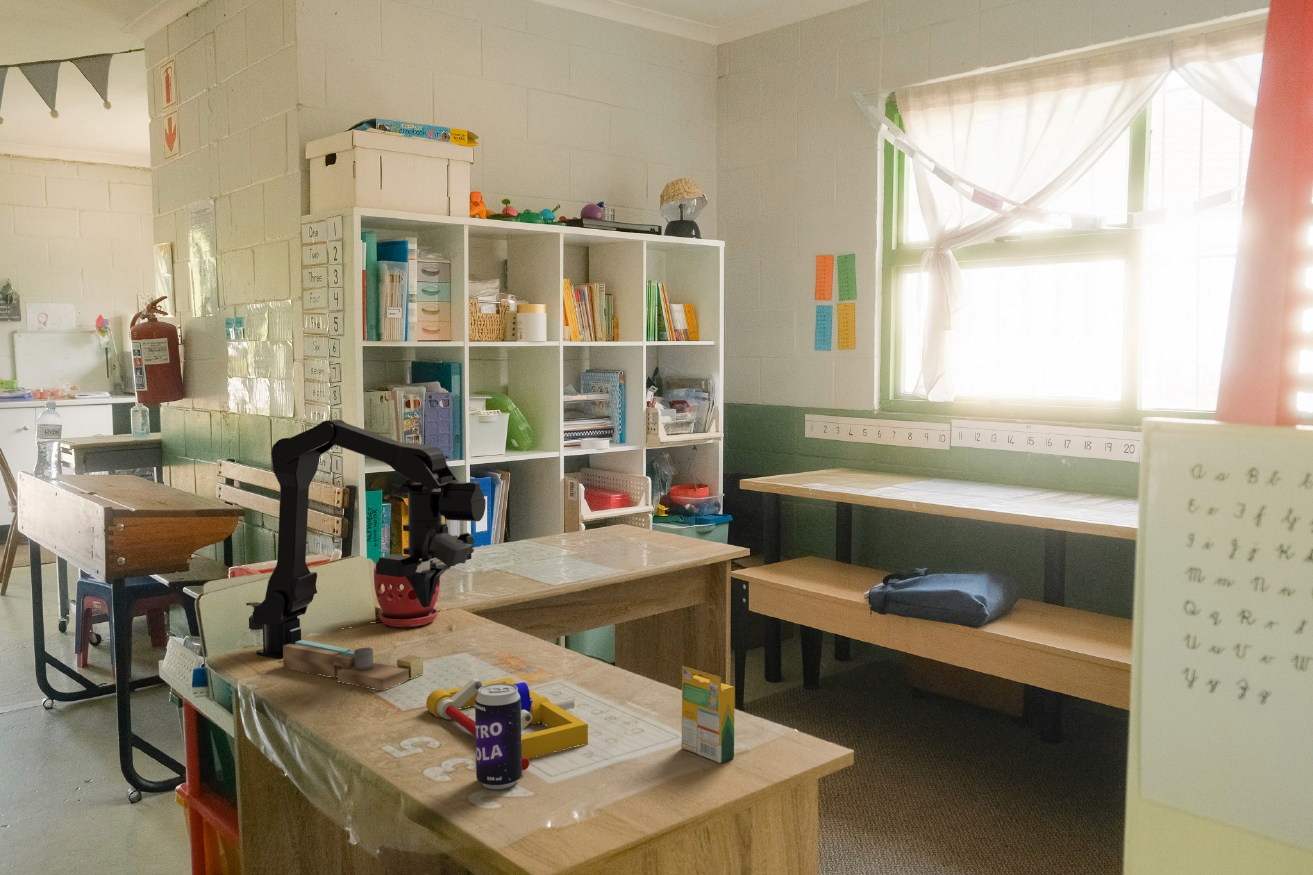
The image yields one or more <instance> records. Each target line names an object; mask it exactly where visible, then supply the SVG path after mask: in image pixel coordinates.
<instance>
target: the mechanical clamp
mask: <svg viewBox="0 0 1313 875" xmlns="http://www.w3.org/2000/svg"><path fill="white" fill-rule="evenodd" d="M493 683H509V684H513V685H515V686H517V688H518V690H517V691H518V693H519V695H520V697H521V732H522V731H523V730H524V729H525V728H526V727H527V726H528V725H531V724H533V725H536V724H535V723H537V724H539V723H538V722H543V723H544V724H546V725H547V726H548V727H547V726H546V727H547V728H546V729H542V730H538V731H534V732H529V733H525V734H521V740H522V771H526V770H528V768H529V767H530V759H529V758H532V759H535V758H537V757H536V756H539V757H542V756H541V755H543V754H547V755H549V754H548V753H551V754H554V753H553V752H554V751H559V752H561V751H560V750H563V749H567V748H569V747H574V746H577V745H582V744H586V745H588V743H589V732H588V731H589V729H588V728H589V727H588V725H589V723H587V722H585V721H584V720H582V719H580V718H578V717H577V716H575V715H573V714H572V713H570V712H569V711H567V710H570V709H574V708H575V701H574V699H573V698H572V697H569V698H566V699H562V700H561V699H560V700H556V701H550V700H549V699H548V697H547V696H541V695H539V694H537V693H536V692H534V691H533V690H531V689H529V686H528V684H527V683H526V682H524V681H523V682H517V681H516V680H514V679H512V678H510V677H506V678H501V679H495V680H491V681H485V682H481V681H480V680H478V679H477V678H472V679H470V680H469V681H467V683H466V684H465V685H463V686H461V687H455V688H451V689H446V690H444V689H441V688H439V689H435V690H433V691H431V693H430V694H429V695H428V697H427V698H426V704H425V705H426V709H427V711H428V712H430V713H431V714H432V715H433V714H434V717H436V718H437V717H439V718H444V719H445V720H447V719H450V720H453V721H454V722H456V723H457V724H459V725H460V726H461V727H462V728H463V729H465V730H467V731H468V732H470V733H471V734H472V735H474V736H475V737H476V728H475V720H474V719H472V718H471V717H469V716H468V715H466V714H465V713H463V712H462V711H461V710H460V709H459V708H464V709H466V708H465V707H468V706H473V705H475V699H476V697H477V695H478V689H479V688H480V687H482V686H484V685H488V684H493ZM473 707H474V706H473ZM530 723H531V724H530ZM544 724H543V725H544ZM549 727H550V728H549ZM567 750H568V749H567ZM563 751H564V750H563ZM543 756H544V755H543ZM534 757H535V758H534Z"/></svg>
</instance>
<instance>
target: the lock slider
mask: <svg viewBox="0 0 1313 875" xmlns="http://www.w3.org/2000/svg"><path fill="white" fill-rule="evenodd" d="M396 667H400V668H406V669H409V678H410V679H411V678H414V679H416V678H415V677H416V676H419V675H421V674H423V675H424V658H423V657H421V656H416V655H412V654H411V655H410V654H409V655H406V656H403V657H401V658H398V659H397V660H396ZM419 677H420V676H419Z"/></svg>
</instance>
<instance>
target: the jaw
mask: <svg viewBox="0 0 1313 875" xmlns="http://www.w3.org/2000/svg"><path fill="white" fill-rule="evenodd" d="M295 645H300V646H306V647H311V648H317V649H323V650H328V651H334V652H339V653H341V655H345V656H350V657H354V651H355V650H352V649H350V648H345V647H341V646H336V645H330V644H326V643H320V642H315V641H309V640H306V639H305V640H304V639H301V640H300V641H297V642H295ZM343 668H345V667H341V669H343Z"/></svg>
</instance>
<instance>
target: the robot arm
mask: <svg viewBox="0 0 1313 875" xmlns="http://www.w3.org/2000/svg"><path fill="white" fill-rule="evenodd" d="M335 446H337V447H340V448H343V449H345V450H347V451H348V450H349V451H351V452H354V453H356V454H359V455H362V456H366V457H369V458H371V459H372V460H373V459H374V460H376V461H379V462H381V463H384V464H386V465H387V466H390V468H392V469H393V471H394V472H396V473H397V474H399V475H400V476H402V477H404V478H406V479H404V480H403V483H401V485H399V486H398V487H397V488H396V489H395V492H396V493H397V494H407V517H408V518H407V524H403V525H402V531H403V532H407V534H408V537H407V538H408V547H403V552H402V553H403V554H395V553H392V554H389V555H384V556H380V557H378V559H377V560H376V562H375V567H376V574H380V575H387V576H394V577H405V576H406V578H407V579H408V581H409V583H410V584H411V586H412V588H413V590H414V592H415V594H416V596H417V598H418V600H419V601H420V603H421V605H422V607H429V606H430V604H431V601H432V598H433V595H434V591H435V588H436V585H437V583H438V580H439V578H440V579H441V576H443V574H444V573H446V572H447V570H450V569H451V567H454V566H456V565H460V564H466V562H467V561H468V560H472V554H473V553H474V552H475V549H474V547H475V540H474V535H473V534H471V533H469V532H464V533H461V534H459V535H457V534H456V535H451V534H450V533H449V526H448V524H447V523H443V522H442V521H443V518H444V519H445V520H446V521H457V522H458V521H459V522H460V521H461V522H462V521H463V522H480V521H481V520H482V519H483V517H484V515H485V511H486V498H485V495H484V492H483V490H482V489H481V483H480V482H479V481H469V482H466V481H463V482H462V481H459V479H458V477H456V475H455V473H454V472H453V471H452V469H451V467H450V466H449V465H448V463H447V460H446V455H445V454H444V451H443V450H442V449H441V448H440V447H437V446H434V445H429V444H421V443H413V442H412V443H410V442H402V441H398V440H396V439H395V440H394V439H392V438H389V437H386V436H383V435H382V434H381V435H380V434H378V433H375V432H373V431H369V430H367V429H364V428H361V427H357V426H355V425H352V424H350V423H347V422H345V421H344V420H341V419H338V418H336V419H329V420H328V419H327V420H324V421H321V422H320V423H319V424H317V425H314V426H313V427H311V428H309V429H306V430H305V431H302V432H300V433H297V434H296V435H294V436H291V437H284V438H280V439H278V440H277V441H276V442H275V443H274V444H272V447H271V449H270V450H271V451H270V452H271V453H270V456H271V464H272V472H273V474H274V477H275V478H276V479H277V480H276V481H277V482H278V484H279V507H278V508H279V511H278V532H277V554H276V555H277V556H276V558H277V560H276V565H275V567H274V568H273V571H272V573H271V575H270V577H269V579H268V581H267V587H266V591H265V595H264V596H265V597H264V600H263V601H261V603H260V604H259V605H258V606H257V607H256V608H255V609H254V610H253V611H252V617H253V619H254V623H255V624H256V625H261V626H262V648H260V649H258V650H256V651H255V652H256V653H255V654H256V655H262V656H266V657H267V656H268V657H273V658H276V659H277V658H278V659H282V658H283V646H284V645H287V644H295V642H297V641H300V640H302V628H301V619H300V618H299V617H300V616H302V615H303V616H304V615H305V614H306V613H307V610H308V606H309V605H310V604H311V603H312V601H313V600H314V598H315V595H316V594H318V590H317V579H318V573H317V572H316V571H310V569H309V567H308V565H307V563H306V562H307V561H306V558H307V540H308V539H307V538H308V537H307V536H308V516H309V514H308V512H309V495H310V494H309V493H310V492H309V491H310V485H311V484H312V481H313V480H314V478H315V475H316V473H317V472H318V468H319V463H320V458H321V456H322V455H323V454H325V453H327V452H329V451H331V449H333V448H334V447H335ZM442 517H443V518H442Z"/></svg>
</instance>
